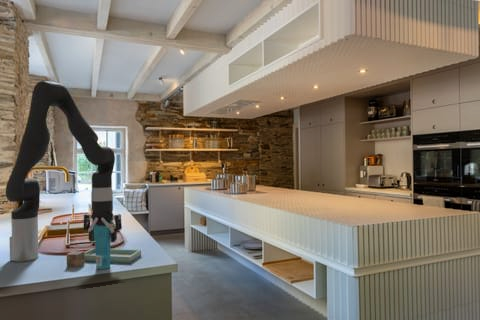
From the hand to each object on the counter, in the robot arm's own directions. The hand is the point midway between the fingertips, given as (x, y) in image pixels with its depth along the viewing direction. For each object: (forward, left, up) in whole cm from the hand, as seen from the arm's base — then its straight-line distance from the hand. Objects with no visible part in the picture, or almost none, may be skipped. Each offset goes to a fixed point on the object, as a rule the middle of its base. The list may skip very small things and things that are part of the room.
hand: (102, 241), depth 129 cm
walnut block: (-12, +1, -10) cm, 16 cm away
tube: (0, 0, -10) cm, 10 cm away
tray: (-3, +11, -10) cm, 15 cm away
